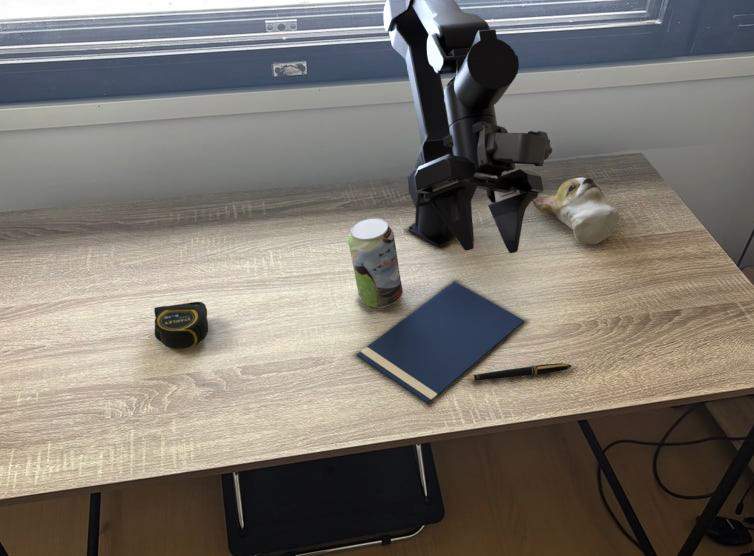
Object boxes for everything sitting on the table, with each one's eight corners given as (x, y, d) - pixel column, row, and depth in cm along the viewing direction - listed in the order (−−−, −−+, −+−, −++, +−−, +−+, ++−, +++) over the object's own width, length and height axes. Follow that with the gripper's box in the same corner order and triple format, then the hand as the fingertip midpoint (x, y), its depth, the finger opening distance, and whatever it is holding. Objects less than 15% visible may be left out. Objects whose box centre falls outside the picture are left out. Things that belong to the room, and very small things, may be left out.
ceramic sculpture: (581, 208, 101) (530, 160, 112) (570, 259, 107) (523, 210, 118) (647, 195, 104) (591, 150, 114) (633, 246, 110) (581, 198, 120)
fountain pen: (461, 386, 90) (462, 378, 89) (459, 379, 91) (460, 371, 90) (572, 372, 92) (575, 364, 91) (569, 365, 92) (571, 357, 91)
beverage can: (398, 316, 99) (400, 245, 91) (345, 309, 100) (342, 238, 92) (405, 286, 104) (408, 216, 95) (355, 280, 105) (353, 210, 96)
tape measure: (209, 316, 99) (204, 295, 97) (210, 351, 95) (206, 330, 92) (158, 322, 99) (152, 301, 96) (157, 358, 94) (150, 337, 91)
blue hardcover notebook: (356, 356, 94) (356, 353, 94) (454, 283, 104) (454, 280, 104) (427, 404, 88) (428, 402, 88) (523, 322, 98) (524, 320, 98)
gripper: (481, 83, 76) (504, 230, 75) (570, 113, 89) (591, 238, 88) (402, 121, 83) (422, 255, 83) (495, 143, 97) (513, 259, 96)
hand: (492, 251), depth 87 cm, fingers open, 9 cm apart
